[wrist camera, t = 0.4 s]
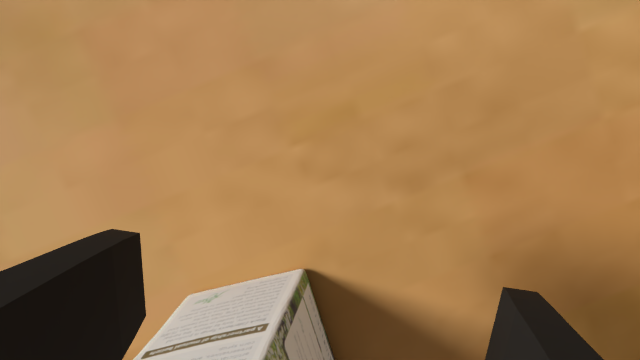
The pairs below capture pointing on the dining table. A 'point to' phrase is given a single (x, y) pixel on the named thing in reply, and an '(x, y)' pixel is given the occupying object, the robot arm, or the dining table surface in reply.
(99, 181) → the dining table surface
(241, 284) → the syrup box
